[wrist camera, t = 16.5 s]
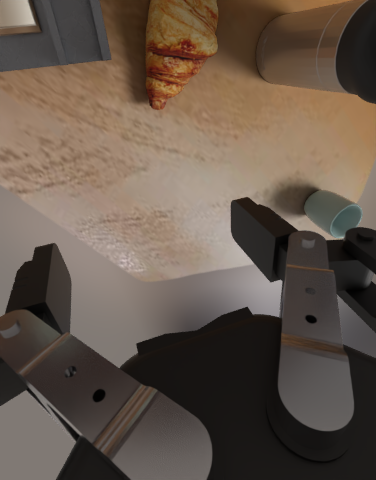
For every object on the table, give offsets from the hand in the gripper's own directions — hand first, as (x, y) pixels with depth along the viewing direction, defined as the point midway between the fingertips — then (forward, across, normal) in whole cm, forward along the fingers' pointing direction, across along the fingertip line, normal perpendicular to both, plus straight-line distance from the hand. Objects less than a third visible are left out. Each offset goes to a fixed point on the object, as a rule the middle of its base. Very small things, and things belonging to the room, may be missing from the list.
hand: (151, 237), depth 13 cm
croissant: (+36, -13, -9) cm, 40 cm away
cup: (+36, -42, +25) cm, 61 cm away
